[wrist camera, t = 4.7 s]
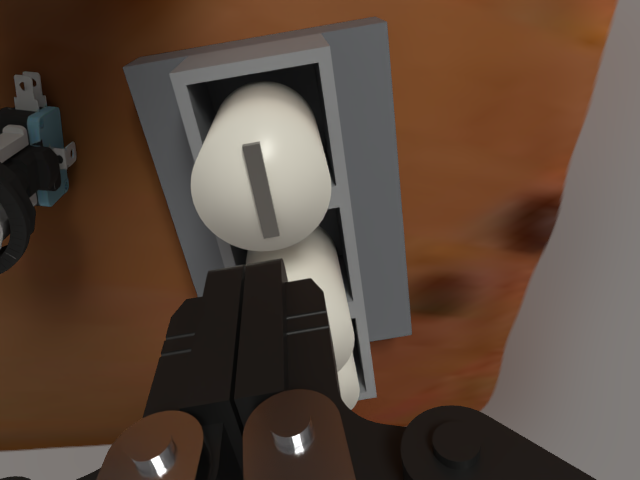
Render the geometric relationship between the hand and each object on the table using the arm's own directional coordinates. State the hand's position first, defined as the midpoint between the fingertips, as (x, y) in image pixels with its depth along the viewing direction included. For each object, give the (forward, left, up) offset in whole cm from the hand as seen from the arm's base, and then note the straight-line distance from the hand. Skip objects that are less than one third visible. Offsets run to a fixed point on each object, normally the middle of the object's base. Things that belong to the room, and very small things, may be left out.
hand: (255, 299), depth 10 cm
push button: (0, -12, -19) cm, 22 cm away
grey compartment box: (+6, 0, -18) cm, 19 cm away
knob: (0, 0, -11) cm, 11 cm away
